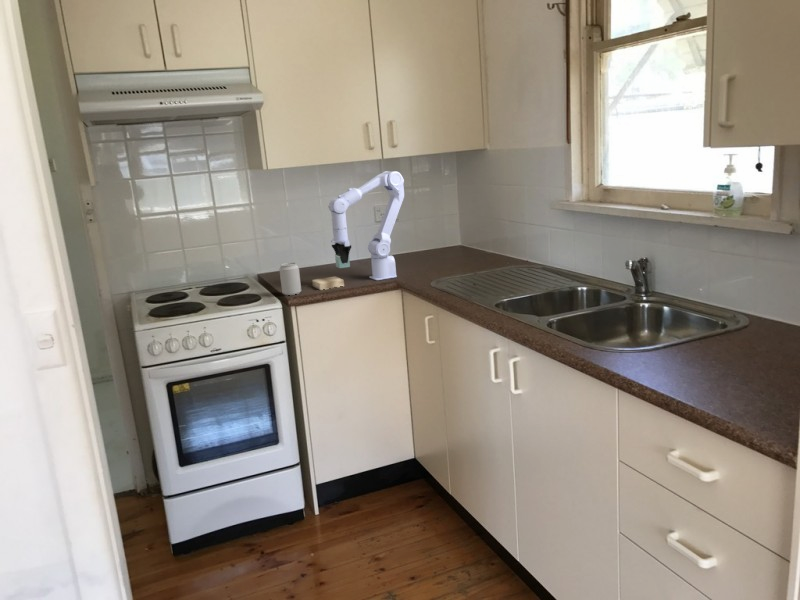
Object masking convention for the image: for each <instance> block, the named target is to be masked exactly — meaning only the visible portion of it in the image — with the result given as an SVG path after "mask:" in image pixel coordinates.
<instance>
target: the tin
mask: <svg viewBox="0 0 800 600" xmlns="http://www.w3.org/2000/svg"><path fill="white" fill-rule="evenodd" d="M334 258H335V267H336V268H338V269H344V268H350V267H351V262H350V261H351V260H350V256H349V257H348V263H342V261H341V256H340V254H336V253H335V254H334Z"/></svg>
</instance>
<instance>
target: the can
mask: <svg viewBox="0 0 800 600" xmlns="http://www.w3.org/2000/svg"><path fill="white" fill-rule="evenodd" d="M297 264H298V263H297V262H286V263H285V262H284V263H281V264H280V267H279V268H278V269H279V277H280V285H281V293H282V294H283V295H284V296H288V295H290V296H296V295H295V294H297V295H299V294H300V293H301V292H302V285H301V276H300V267H299V265H297Z"/></svg>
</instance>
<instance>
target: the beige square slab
mask: <svg viewBox="0 0 800 600" xmlns="http://www.w3.org/2000/svg"><path fill="white" fill-rule="evenodd" d="M311 281H312V287H314V288H316V289H318V290H319V291H324V290H323V289H325V290H330V289H329V288H331V289H335V288H334V287H337V288H341V287H340V286H343V287H345V281H344V279H342V278H340V277H338V276H330V277H322V278H316V279H312V280H311Z"/></svg>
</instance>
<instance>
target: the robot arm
mask: <svg viewBox="0 0 800 600" xmlns="http://www.w3.org/2000/svg"><path fill="white" fill-rule="evenodd" d="M404 182H405V179H404V177H403V176H402V174H401V173H400V172H399V171H390V170H386V171H383V172H382V173H379V174H377V175H376V176H374V177H373V178H371V179H370V180H368V181H367V182H365V183H363V185H361V186H360V187H358V188H356V187H349V188H347V191H346V192H344V193H343V194H339V195H337V197H335V198H332V199H331V200H330V202H329V204H328V205H327V206H328V210H329V211H330V214H331V226H332V234H333V236H332V240H330V243H332V244H331V247H332V249H333V250H334V252H335V255H336V254H340V256H341V261H342V263H348V257H349V258H350V253H351V252H350V251H351V249H352V245H351V244H350V242H351V241H350V240H349V235H348V226H347V225H348V224H347V216H346V215H347V214H346V213H347V212H346V211H348V209H349V208H351V206H354V205H355V204H357V203H359V202H360V201H361V200H362V197H363V196H364V195H365V194H367V193H370V192H371V191H373V190H375V189H377V188H378V187H384V188H385V189H386V190H387V192H388V194H389V196H390V197H389V200H388V203H387V206H386V209H385V210H384V214H383V216H382V219H381V222H380V225H379V227H378V230H377V232H376V234H374V235H373V238H372V240H371V241H370V242H369V243H368V247H367V249H368V252H369V253H370V254H371V255H370V259H371V271H372V272H371V273H372V275H371V276H369V279H372V280H375V281H380V280H388V279H393V278H397V277H398V275H397V268H396V260H395V257H394V256H393V255H389V254H390V252H391V243H392V239H391V235H392V231H393V230H394V226H395V224H396V220H397V218H398V215H399V212H400V209H401V206H402V204H403V201H404V199H405V189H404V188H405V187H404V184H405V183H404ZM333 243H334V244H333Z"/></svg>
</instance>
